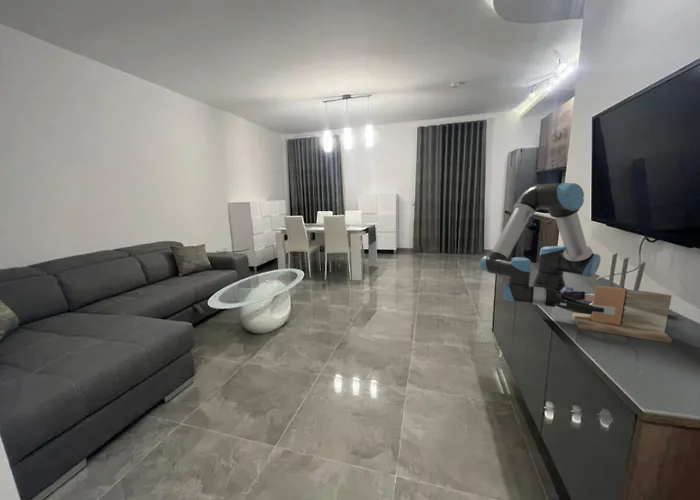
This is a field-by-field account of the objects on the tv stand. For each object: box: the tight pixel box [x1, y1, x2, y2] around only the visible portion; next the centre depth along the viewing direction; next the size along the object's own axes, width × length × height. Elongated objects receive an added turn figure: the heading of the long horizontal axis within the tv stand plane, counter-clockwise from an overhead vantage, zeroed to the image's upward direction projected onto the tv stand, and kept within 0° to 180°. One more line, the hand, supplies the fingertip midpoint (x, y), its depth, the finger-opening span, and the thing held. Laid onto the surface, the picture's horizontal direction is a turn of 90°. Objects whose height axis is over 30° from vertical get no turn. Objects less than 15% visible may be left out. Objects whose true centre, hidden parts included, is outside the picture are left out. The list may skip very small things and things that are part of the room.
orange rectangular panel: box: [590, 284, 626, 325], centre depth 116 cm, size 2×9×14 cm, turn 62°
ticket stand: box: [571, 288, 673, 344], centre depth 114 cm, size 14×26×16 cm, turn 62°
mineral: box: [556, 286, 593, 306], centre depth 138 cm, size 15×10×10 cm
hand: (609, 305), depth 115 cm, fingers open, 13 cm apart
